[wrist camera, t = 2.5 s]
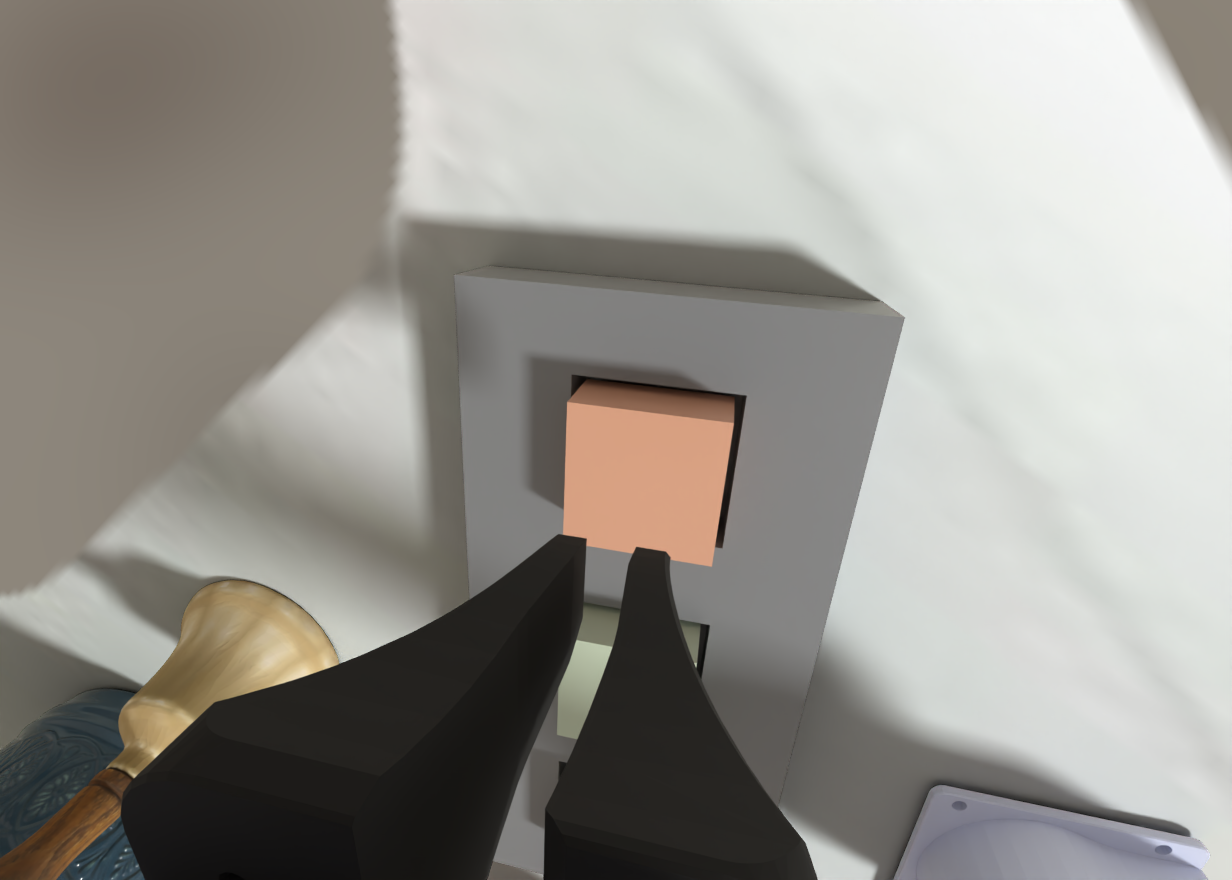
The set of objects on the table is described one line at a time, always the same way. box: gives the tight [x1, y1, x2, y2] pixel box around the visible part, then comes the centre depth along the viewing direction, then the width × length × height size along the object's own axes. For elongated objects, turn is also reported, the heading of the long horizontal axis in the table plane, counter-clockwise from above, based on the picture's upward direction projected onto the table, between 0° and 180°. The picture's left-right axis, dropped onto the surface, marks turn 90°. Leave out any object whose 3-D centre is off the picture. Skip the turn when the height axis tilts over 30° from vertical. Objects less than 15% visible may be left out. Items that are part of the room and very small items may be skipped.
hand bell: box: [0, 580, 339, 880], centre depth 21 cm, size 8×8×16 cm
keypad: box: [454, 266, 905, 874], centre depth 22 cm, size 12×26×2 cm, turn 177°
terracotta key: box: [563, 379, 735, 567], centre depth 17 cm, size 4×4×2 cm
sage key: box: [557, 602, 701, 739], centre depth 20 cm, size 4×4×2 cm
